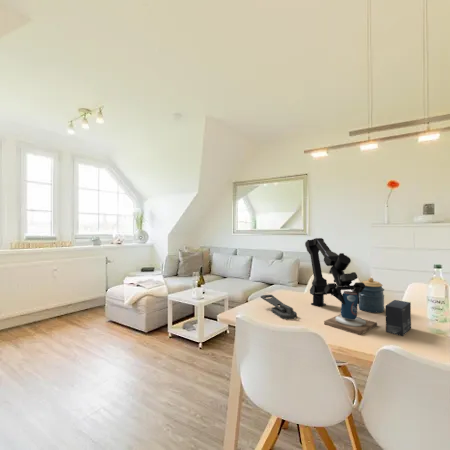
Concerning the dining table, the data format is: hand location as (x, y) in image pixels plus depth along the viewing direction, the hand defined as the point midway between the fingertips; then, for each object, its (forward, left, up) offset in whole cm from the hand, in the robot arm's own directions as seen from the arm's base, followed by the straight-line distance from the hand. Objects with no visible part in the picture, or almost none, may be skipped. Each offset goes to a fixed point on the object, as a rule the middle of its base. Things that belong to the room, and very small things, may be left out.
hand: (351, 303), depth 130 cm
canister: (-33, -5, -11) cm, 35 cm away
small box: (-11, +16, -11) cm, 22 cm away
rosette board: (-1, -1, -10) cm, 10 cm away
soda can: (0, -2, -7) cm, 7 cm away
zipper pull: (+10, -36, -11) cm, 39 cm away
